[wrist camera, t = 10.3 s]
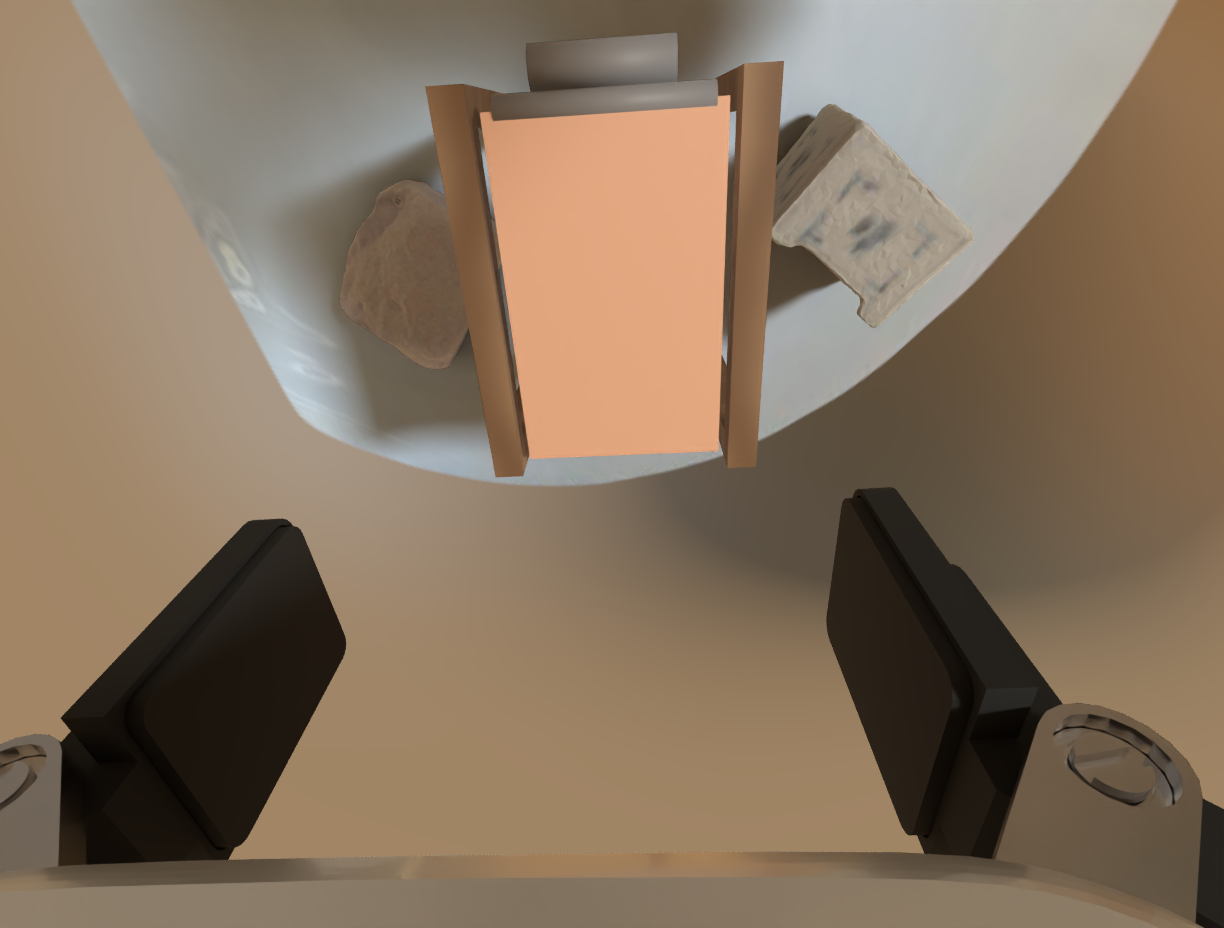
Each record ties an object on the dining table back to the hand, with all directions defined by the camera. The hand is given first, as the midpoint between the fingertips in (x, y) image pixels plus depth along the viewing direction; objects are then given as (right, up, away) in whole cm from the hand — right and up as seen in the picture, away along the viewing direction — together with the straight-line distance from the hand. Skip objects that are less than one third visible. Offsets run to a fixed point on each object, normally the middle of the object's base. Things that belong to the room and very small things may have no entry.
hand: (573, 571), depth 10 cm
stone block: (-13, +17, +35) cm, 41 cm away
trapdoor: (+1, +11, +19) cm, 22 cm away
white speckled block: (+16, +20, +32) cm, 41 cm away
